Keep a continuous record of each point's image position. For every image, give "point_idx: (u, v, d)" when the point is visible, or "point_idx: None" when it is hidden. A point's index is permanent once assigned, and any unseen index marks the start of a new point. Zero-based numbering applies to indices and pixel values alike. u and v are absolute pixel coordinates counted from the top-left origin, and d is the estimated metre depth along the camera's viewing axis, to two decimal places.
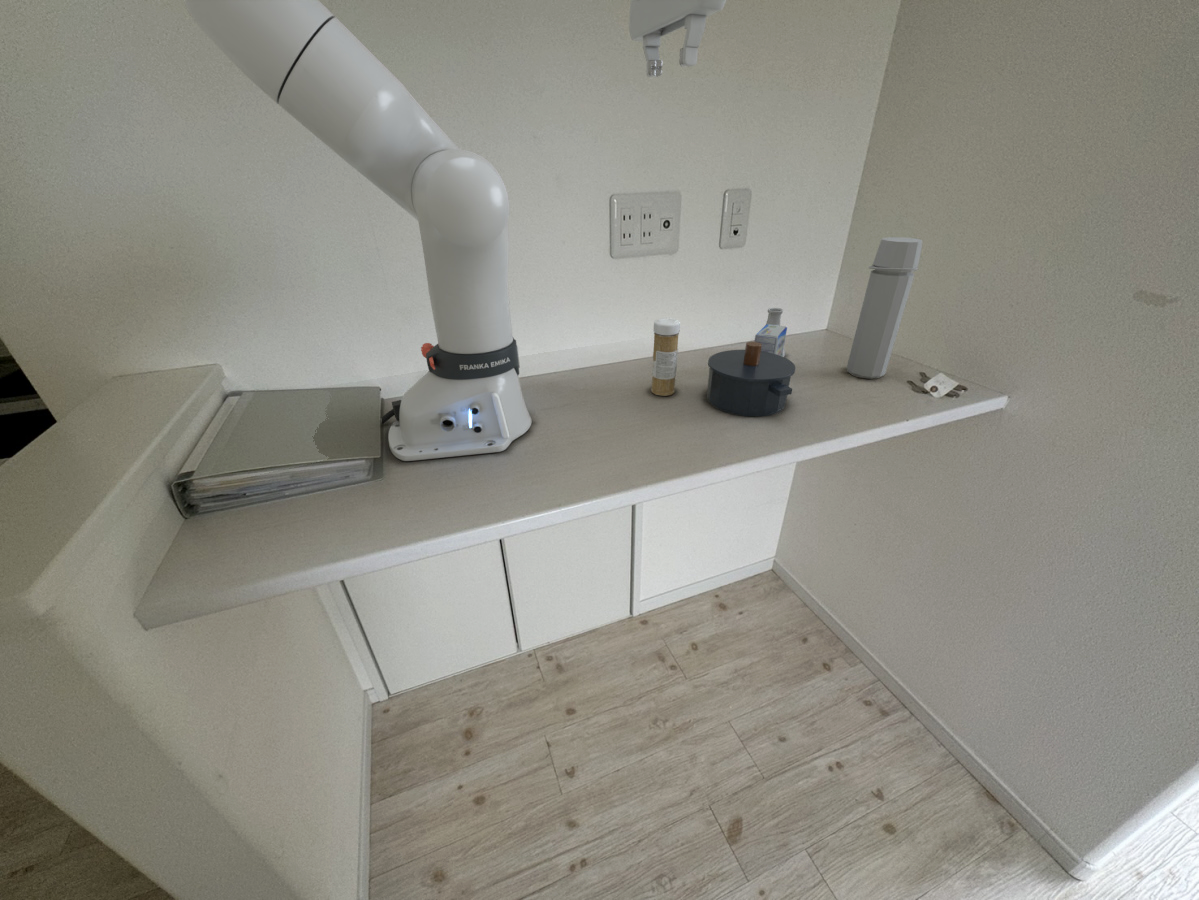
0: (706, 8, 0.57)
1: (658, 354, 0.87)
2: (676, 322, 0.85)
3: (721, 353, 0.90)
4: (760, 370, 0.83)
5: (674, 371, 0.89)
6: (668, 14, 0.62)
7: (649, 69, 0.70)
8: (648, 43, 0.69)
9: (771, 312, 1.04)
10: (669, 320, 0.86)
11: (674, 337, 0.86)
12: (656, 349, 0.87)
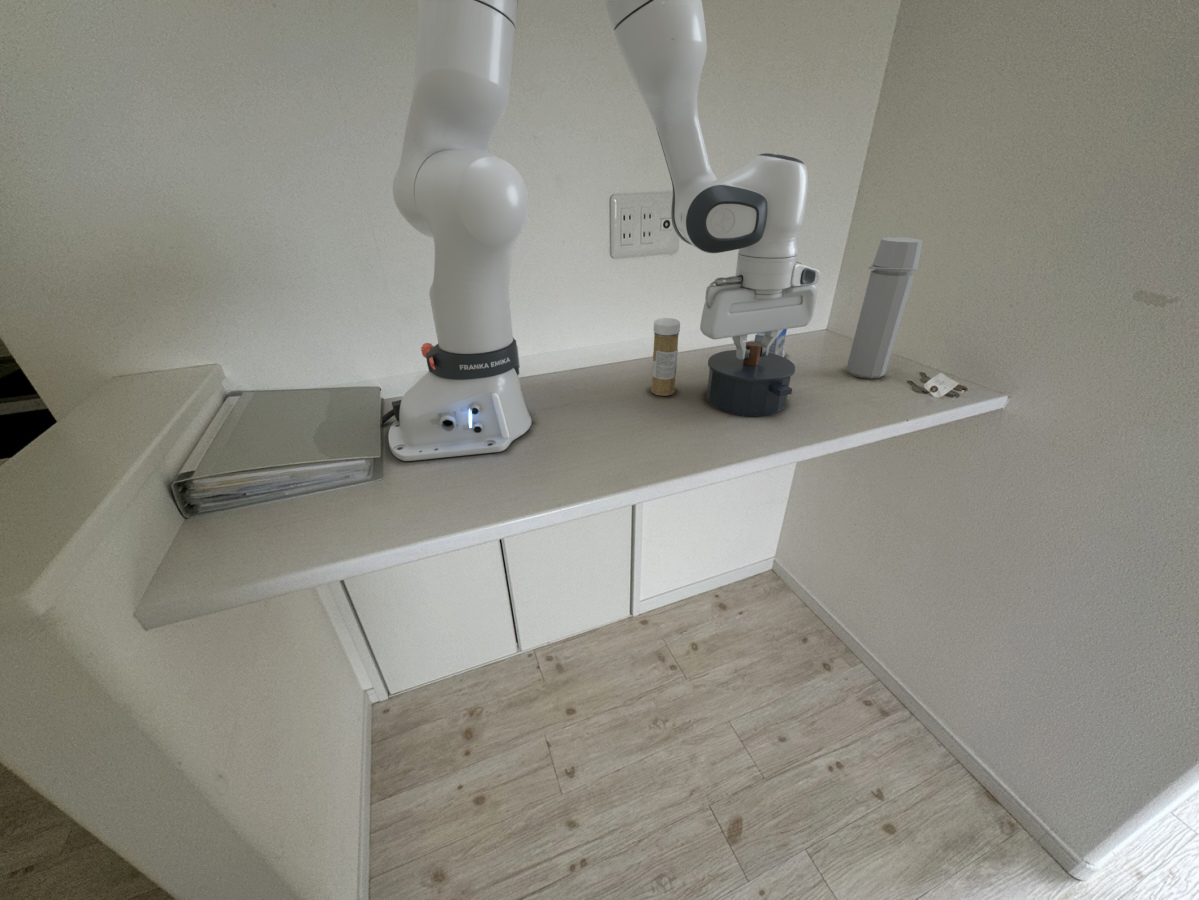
0: None
1: (658, 354, 0.87)
2: (676, 322, 0.85)
3: (721, 353, 0.90)
4: (760, 370, 0.83)
5: (674, 371, 0.89)
6: (774, 327, 0.82)
7: (746, 355, 0.84)
8: None
9: None
10: (669, 320, 0.86)
11: (674, 337, 0.86)
12: (656, 349, 0.87)
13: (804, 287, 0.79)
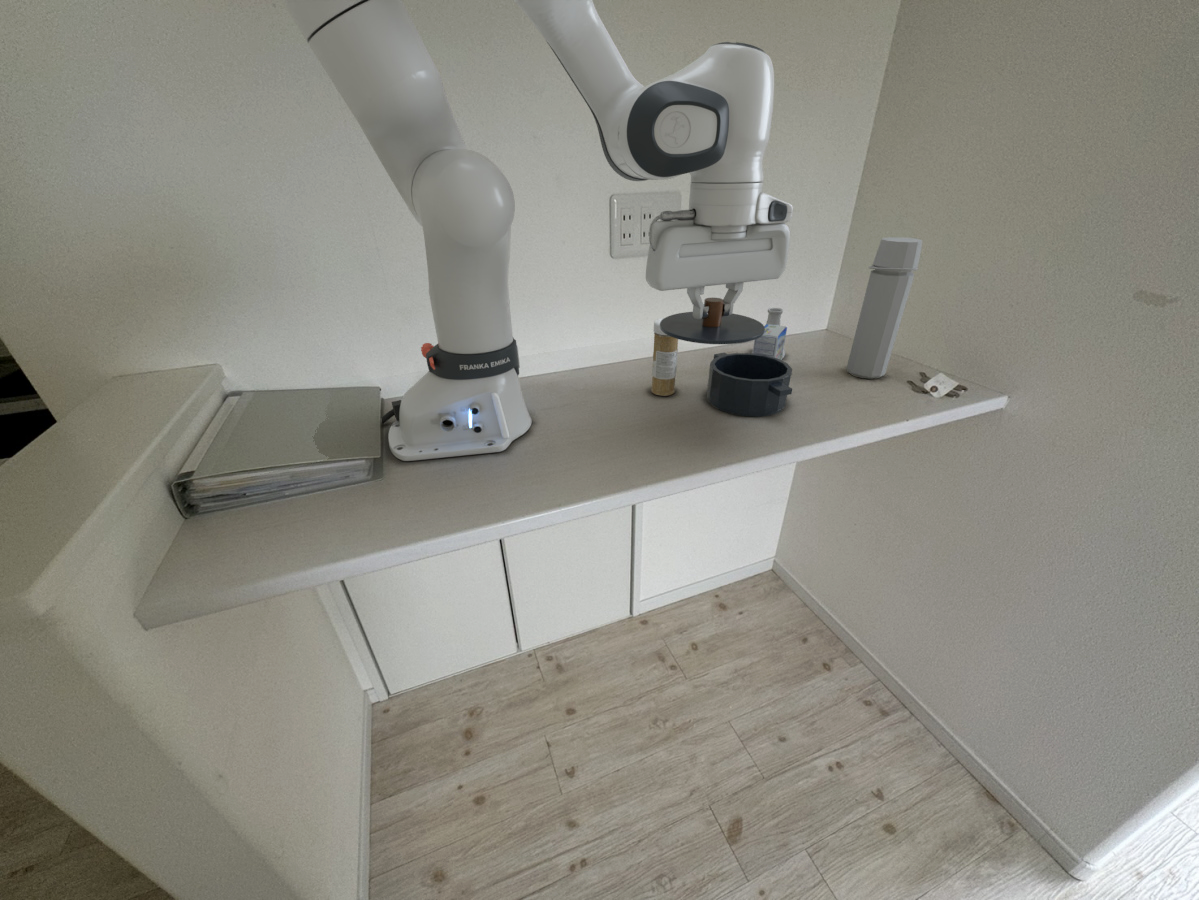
0: None
1: (658, 354, 0.87)
2: None
3: (678, 315, 0.75)
4: (721, 331, 0.68)
5: (674, 371, 0.89)
6: (738, 277, 0.66)
7: (704, 314, 0.68)
8: None
9: (771, 312, 1.04)
10: None
11: None
12: (656, 349, 0.87)
13: (774, 227, 0.64)
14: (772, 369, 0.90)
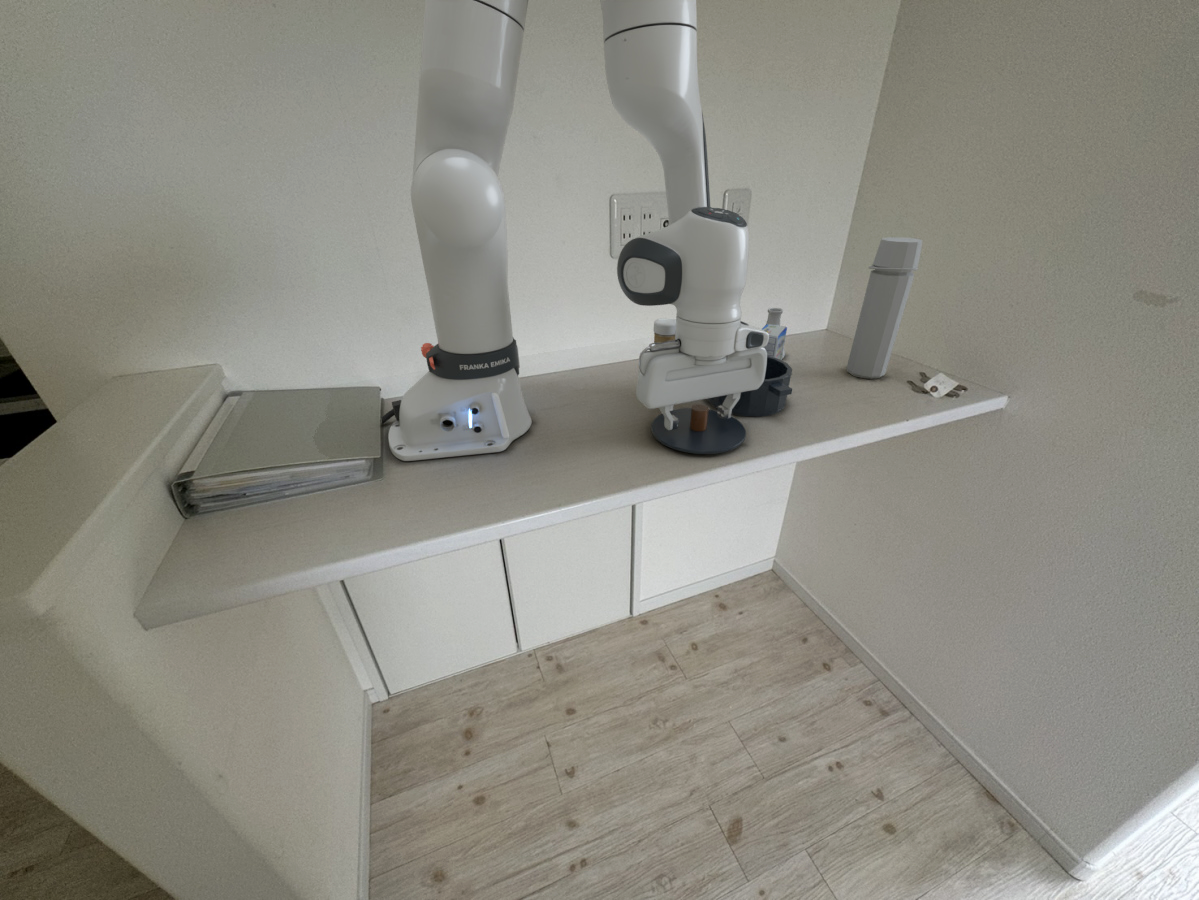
0: None
1: None
2: None
3: None
4: (706, 437, 0.75)
5: None
6: (720, 392, 0.73)
7: (674, 425, 0.74)
8: (672, 408, 0.73)
9: (771, 312, 1.04)
10: (669, 320, 0.86)
11: (674, 337, 0.86)
12: None
13: (752, 351, 0.71)
14: (772, 369, 0.90)
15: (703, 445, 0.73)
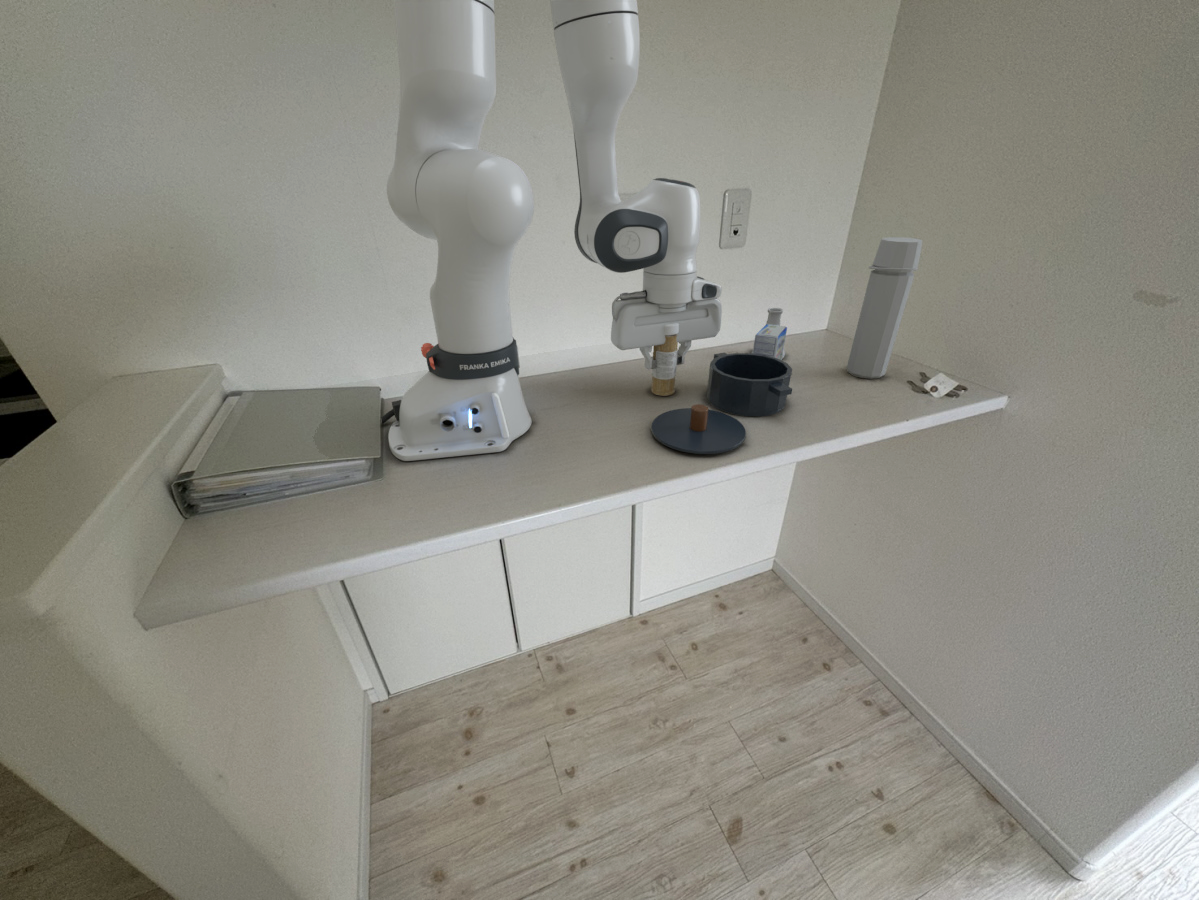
0: None
1: (658, 354, 0.87)
2: None
3: (668, 413, 0.82)
4: (706, 437, 0.75)
5: (674, 371, 0.89)
6: (682, 338, 0.87)
7: (653, 365, 0.88)
8: None
9: (771, 312, 1.04)
10: None
11: (674, 337, 0.86)
12: (655, 349, 0.87)
13: (707, 301, 0.84)
14: (772, 369, 0.90)
15: (703, 445, 0.73)
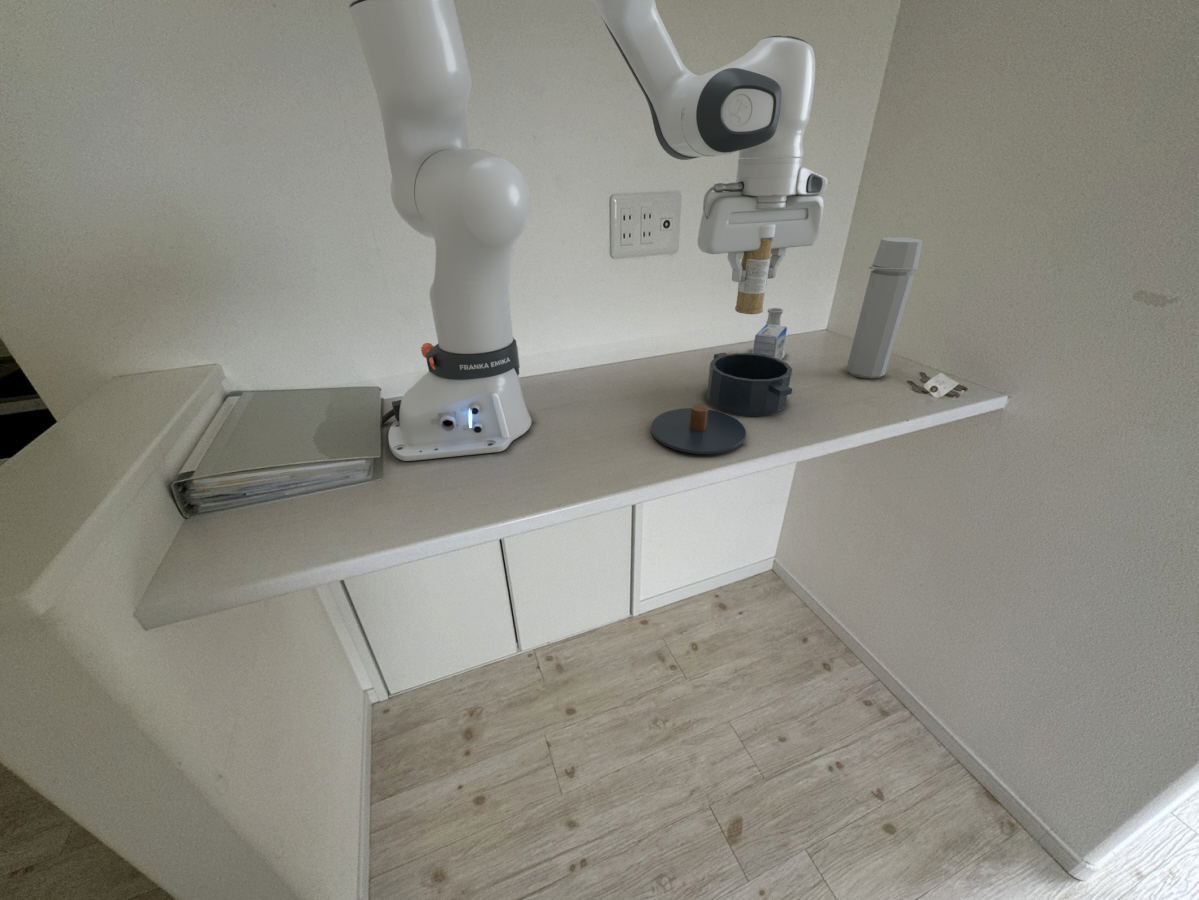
0: None
1: (749, 262, 0.76)
2: None
3: (668, 413, 0.82)
4: (706, 437, 0.75)
5: (765, 284, 0.78)
6: (778, 243, 0.76)
7: (743, 277, 0.77)
8: (742, 257, 0.76)
9: (771, 312, 1.04)
10: None
11: (769, 241, 0.75)
12: (746, 257, 0.76)
13: (810, 198, 0.73)
14: (772, 369, 0.90)
15: (703, 445, 0.73)
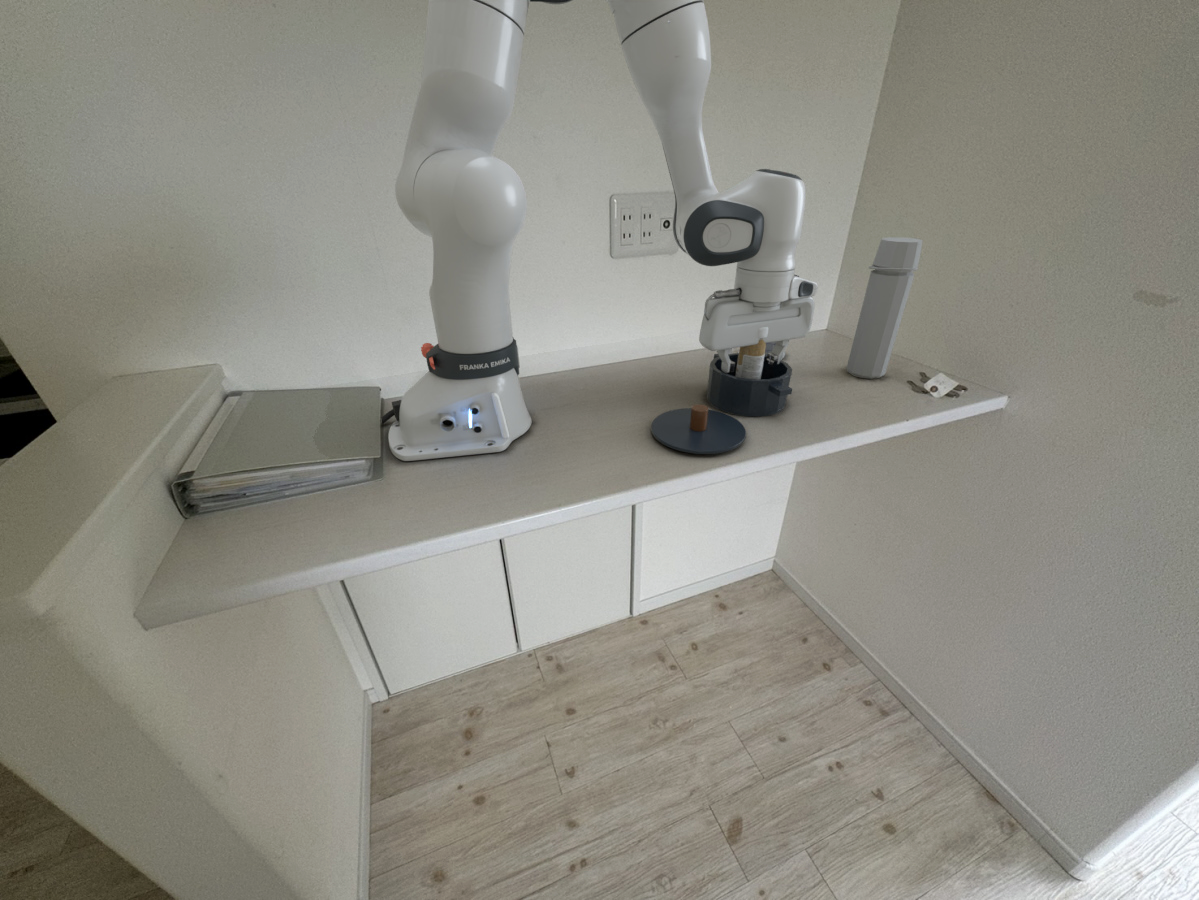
0: None
1: (745, 358, 0.84)
2: None
3: (668, 413, 0.82)
4: (706, 437, 0.75)
5: (760, 376, 0.86)
6: (773, 338, 0.83)
7: (731, 368, 0.84)
8: (730, 352, 0.82)
9: None
10: None
11: None
12: (743, 353, 0.84)
13: (802, 300, 0.80)
14: (772, 369, 0.90)
15: (703, 445, 0.73)
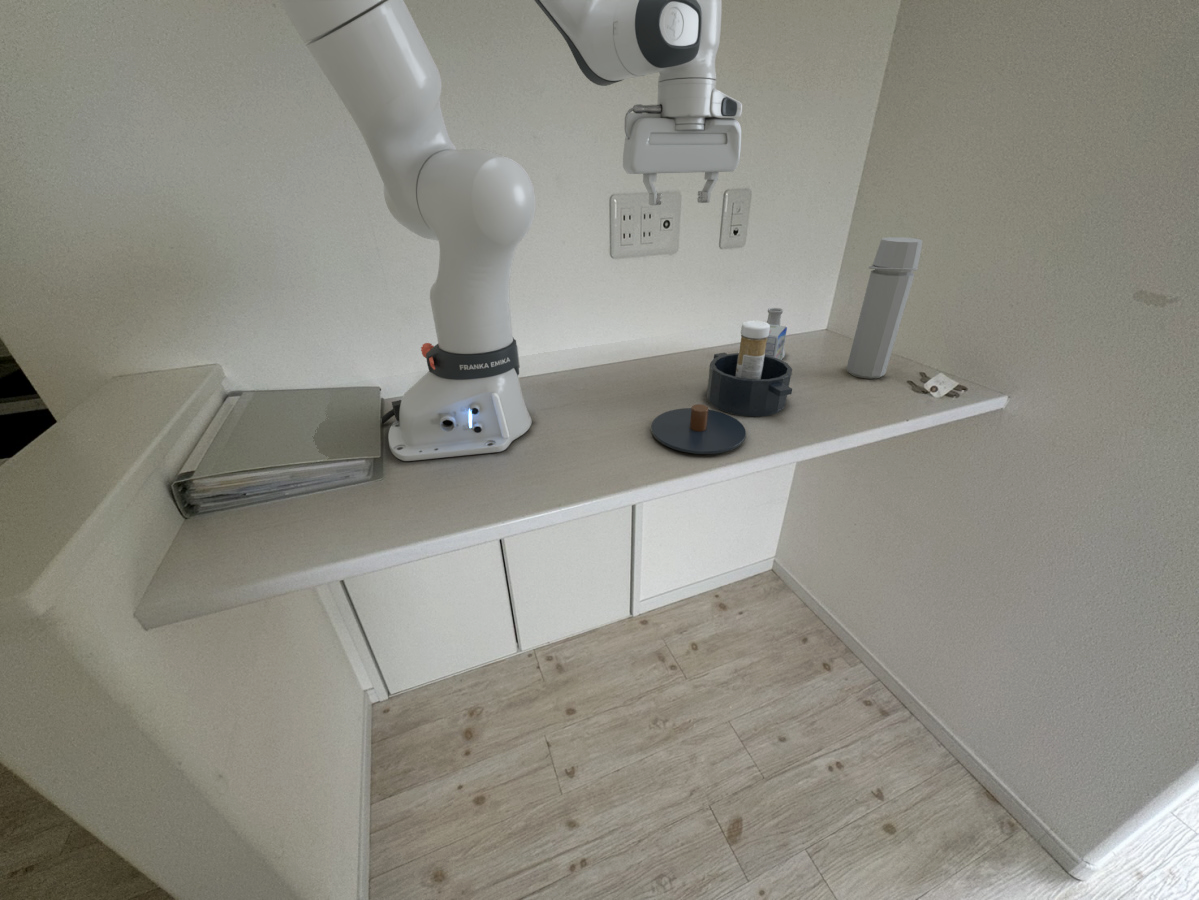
0: None
1: (745, 358, 0.84)
2: (766, 325, 0.82)
3: (668, 413, 0.82)
4: (706, 437, 0.75)
5: (760, 376, 0.86)
6: (699, 167, 0.81)
7: (658, 200, 0.82)
8: (655, 179, 0.80)
9: (771, 312, 1.04)
10: (758, 323, 0.83)
11: (764, 340, 0.82)
12: (743, 353, 0.84)
13: (727, 122, 0.78)
14: (772, 369, 0.90)
15: (703, 445, 0.73)
